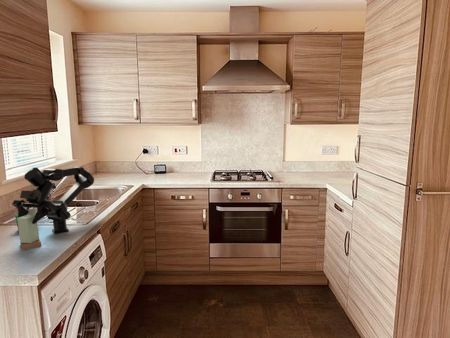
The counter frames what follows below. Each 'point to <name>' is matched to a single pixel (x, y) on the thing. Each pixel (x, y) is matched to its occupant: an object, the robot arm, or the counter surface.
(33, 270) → the counter surface
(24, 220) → the sage block
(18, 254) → the counter surface
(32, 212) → the food container
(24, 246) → the tan slab
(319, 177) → the counter surface
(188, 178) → the counter surface
